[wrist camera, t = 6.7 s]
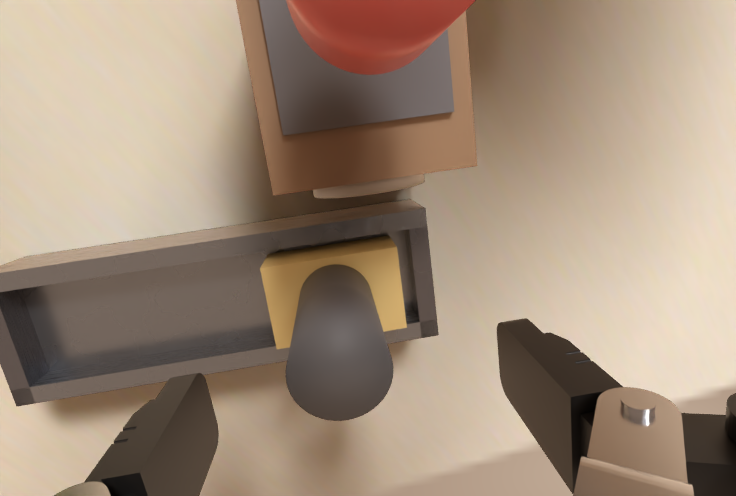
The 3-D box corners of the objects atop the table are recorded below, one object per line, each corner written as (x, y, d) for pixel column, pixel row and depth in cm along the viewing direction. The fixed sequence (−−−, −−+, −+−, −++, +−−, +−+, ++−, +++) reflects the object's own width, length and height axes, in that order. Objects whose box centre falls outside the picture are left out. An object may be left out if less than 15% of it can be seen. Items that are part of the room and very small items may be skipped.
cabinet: (396, -21, 19) (455, -164, 10) (416, 167, 21) (480, 183, 12) (264, -6, 19) (208, -139, 10) (297, 185, 21) (275, 213, 12)
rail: (410, 199, 22) (425, 208, 18) (422, 308, 23) (438, 335, 20) (24, 256, 21) (-33, 277, 17) (63, 367, 22) (16, 406, 19)
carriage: (388, 235, 20) (431, 297, 12) (398, 307, 21) (444, 411, 13) (268, 253, 19) (225, 330, 11) (282, 326, 20) (252, 446, 12)
